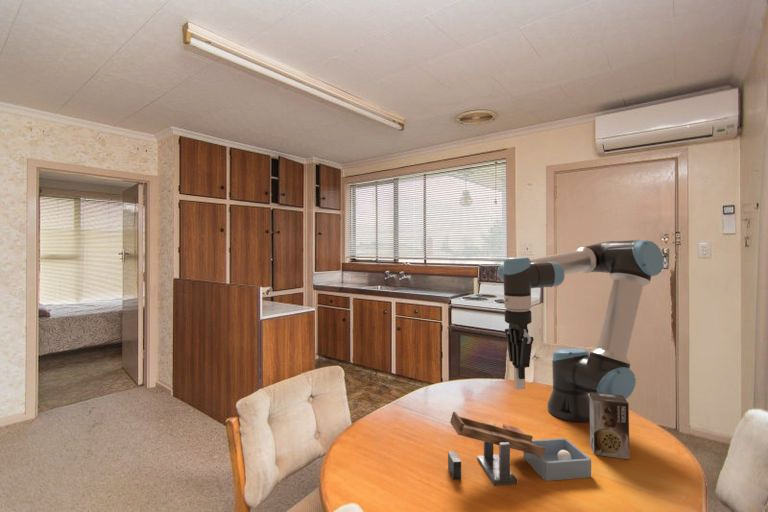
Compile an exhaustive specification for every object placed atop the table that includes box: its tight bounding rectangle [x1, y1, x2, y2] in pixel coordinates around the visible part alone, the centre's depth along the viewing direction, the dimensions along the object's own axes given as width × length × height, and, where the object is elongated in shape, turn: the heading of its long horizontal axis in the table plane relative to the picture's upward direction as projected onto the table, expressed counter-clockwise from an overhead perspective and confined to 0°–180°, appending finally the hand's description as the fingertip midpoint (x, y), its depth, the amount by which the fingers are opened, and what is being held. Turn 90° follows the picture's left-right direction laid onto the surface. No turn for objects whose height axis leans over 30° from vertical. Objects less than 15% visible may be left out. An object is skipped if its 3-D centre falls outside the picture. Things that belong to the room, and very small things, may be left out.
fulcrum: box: [447, 423, 518, 486], centre depth 99 cm, size 16×12×10 cm
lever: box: [449, 411, 545, 457], centre depth 103 cm, size 24×15×3 cm, turn 97°
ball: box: [558, 450, 572, 460], centre depth 102 cm, size 4×4×4 cm
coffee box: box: [589, 392, 631, 460], centre depth 109 cm, size 9×6×16 cm
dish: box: [522, 437, 592, 482], centre depth 102 cm, size 13×12×4 cm
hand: (519, 388), depth 111 cm, fingers closed
